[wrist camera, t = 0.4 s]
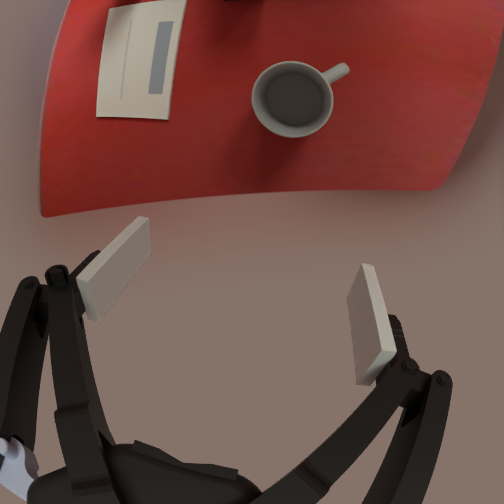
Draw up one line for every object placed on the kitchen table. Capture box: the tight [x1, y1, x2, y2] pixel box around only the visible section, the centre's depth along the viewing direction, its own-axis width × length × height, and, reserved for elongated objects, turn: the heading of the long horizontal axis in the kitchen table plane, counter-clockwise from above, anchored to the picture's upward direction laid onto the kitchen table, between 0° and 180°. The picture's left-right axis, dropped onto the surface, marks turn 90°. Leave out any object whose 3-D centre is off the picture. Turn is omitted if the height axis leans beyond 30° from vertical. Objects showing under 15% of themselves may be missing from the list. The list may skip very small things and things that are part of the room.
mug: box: [251, 61, 350, 138], centre depth 29 cm, size 12×8×11 cm
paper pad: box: [96, 0, 188, 120], centre depth 33 cm, size 20×14×1 cm
